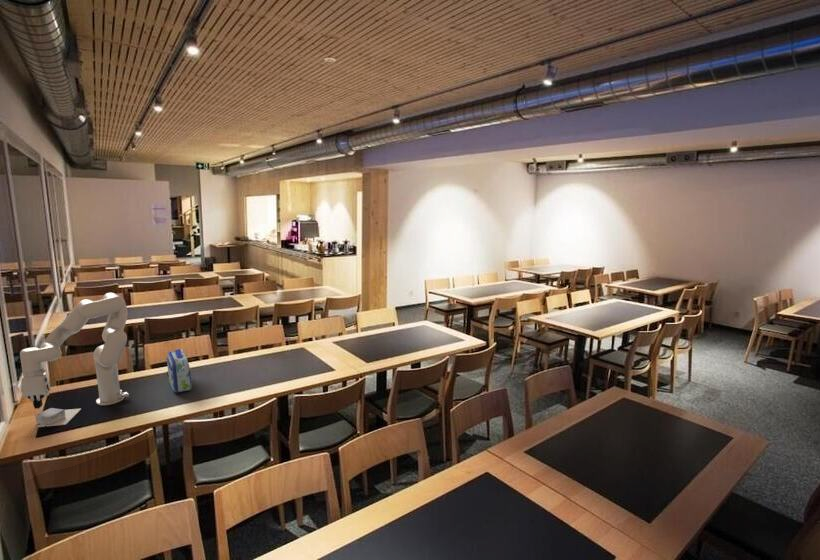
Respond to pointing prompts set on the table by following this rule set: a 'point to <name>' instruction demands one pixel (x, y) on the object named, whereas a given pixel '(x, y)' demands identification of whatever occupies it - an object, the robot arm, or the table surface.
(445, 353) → the table surface
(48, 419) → the medicine box
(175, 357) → the lunch box
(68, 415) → the mat
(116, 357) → the robot arm
